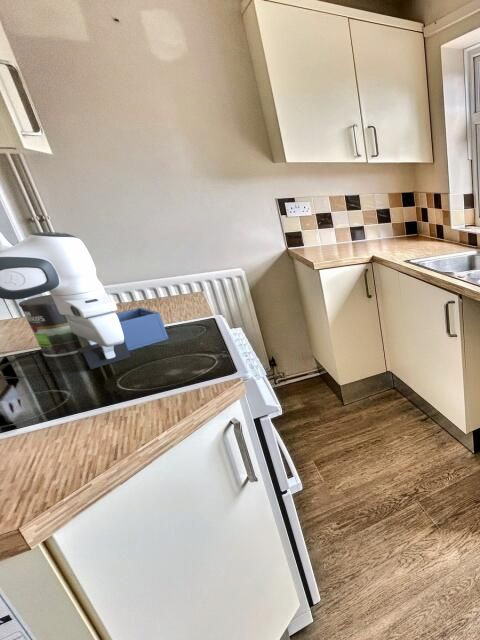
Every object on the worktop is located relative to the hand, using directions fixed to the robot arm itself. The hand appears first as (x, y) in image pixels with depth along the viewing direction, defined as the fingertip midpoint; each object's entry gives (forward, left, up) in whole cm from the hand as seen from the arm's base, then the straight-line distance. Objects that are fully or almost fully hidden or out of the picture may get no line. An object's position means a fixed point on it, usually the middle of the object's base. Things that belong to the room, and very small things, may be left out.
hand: (105, 355), depth 104 cm
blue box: (+8, +9, -2) cm, 12 cm away
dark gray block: (0, 0, -2) cm, 2 cm away
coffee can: (-1, +19, -2) cm, 19 cm away
